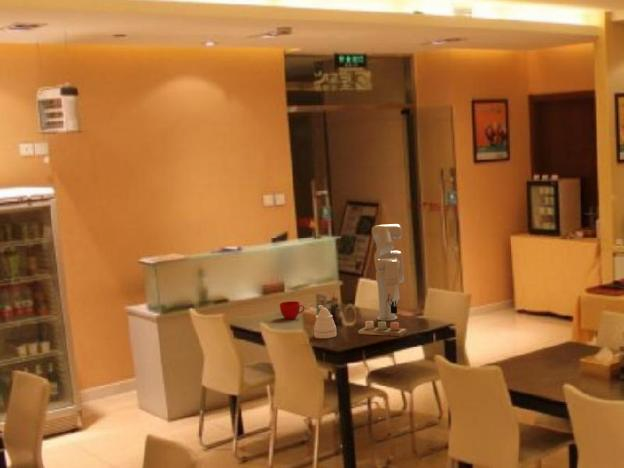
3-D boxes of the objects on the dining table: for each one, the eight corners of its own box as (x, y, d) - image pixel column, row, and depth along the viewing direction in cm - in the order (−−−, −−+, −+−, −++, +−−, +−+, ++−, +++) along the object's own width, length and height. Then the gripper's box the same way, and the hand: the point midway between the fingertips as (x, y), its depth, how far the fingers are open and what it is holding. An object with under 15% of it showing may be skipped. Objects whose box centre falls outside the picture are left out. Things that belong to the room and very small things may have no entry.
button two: (380, 328, 505) (379, 321, 505) (387, 328, 503) (387, 321, 502) (376, 329, 501) (376, 322, 500) (384, 330, 499) (383, 323, 498)
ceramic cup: (300, 320, 553) (299, 305, 552) (277, 320, 561) (276, 304, 560) (309, 316, 565) (308, 301, 564) (286, 316, 572) (285, 301, 571)
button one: (367, 327, 509) (367, 320, 509) (375, 327, 507) (374, 320, 506) (364, 329, 505) (363, 322, 504) (371, 329, 502) (371, 322, 502)
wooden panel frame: (366, 330, 513) (365, 326, 513) (406, 332, 500) (406, 328, 500) (358, 333, 504) (358, 330, 504) (399, 336, 491) (399, 332, 491)
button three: (392, 328, 501) (392, 321, 501) (400, 329, 499) (400, 321, 498) (389, 330, 497) (389, 323, 497) (397, 330, 495) (396, 323, 494)
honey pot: (318, 339, 497) (316, 308, 495) (311, 335, 509) (309, 304, 507) (339, 336, 500) (337, 305, 499) (332, 332, 513) (330, 302, 511)
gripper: (391, 279, 503) (393, 310, 505) (380, 283, 490) (382, 315, 492) (403, 279, 500) (405, 311, 501) (392, 283, 487) (394, 315, 488)
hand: (394, 313), depth 496 cm, fingers closed
